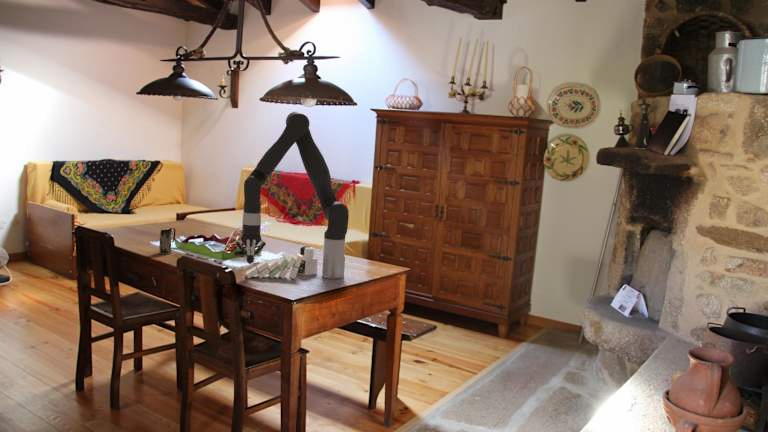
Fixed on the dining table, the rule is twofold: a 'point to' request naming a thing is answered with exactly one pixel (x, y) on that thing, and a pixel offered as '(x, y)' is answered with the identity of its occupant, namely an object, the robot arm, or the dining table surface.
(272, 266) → the domino
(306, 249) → the medicine bottle
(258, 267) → the domino
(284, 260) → the domino
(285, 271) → the domino
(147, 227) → the dining table surface
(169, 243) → the mug
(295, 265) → the domino
